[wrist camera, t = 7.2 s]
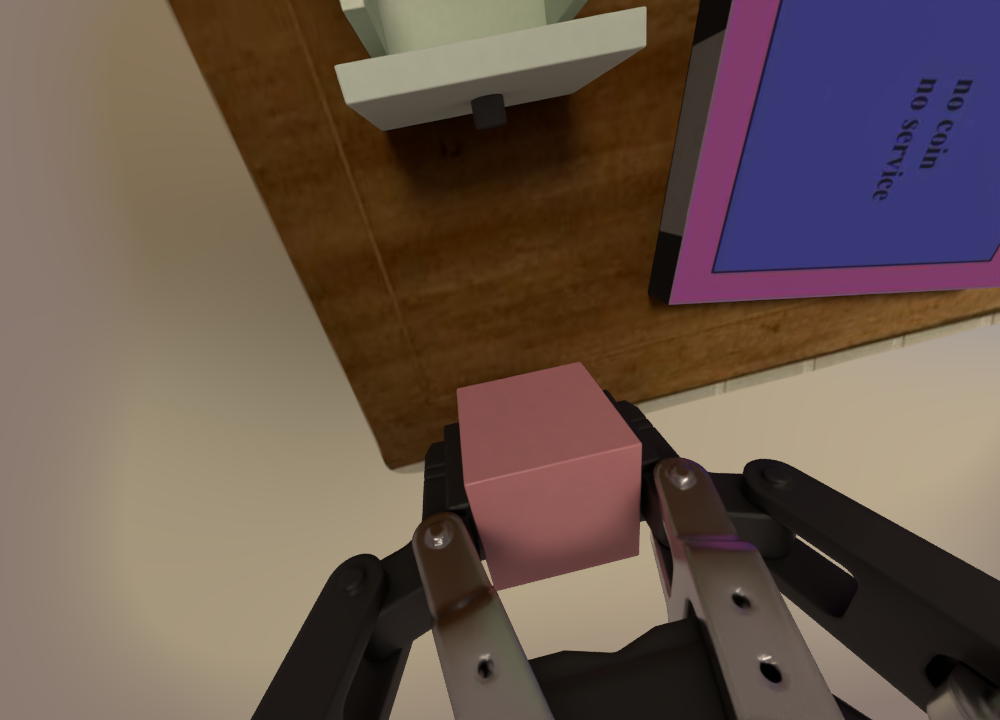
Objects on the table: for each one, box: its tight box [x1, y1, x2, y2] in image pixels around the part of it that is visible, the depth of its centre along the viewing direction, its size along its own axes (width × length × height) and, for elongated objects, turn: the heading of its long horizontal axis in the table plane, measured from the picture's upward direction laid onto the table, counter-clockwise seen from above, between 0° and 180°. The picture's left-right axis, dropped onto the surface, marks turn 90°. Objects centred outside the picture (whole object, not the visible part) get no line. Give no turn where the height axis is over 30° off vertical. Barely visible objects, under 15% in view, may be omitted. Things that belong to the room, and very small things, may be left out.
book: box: [648, 0, 1000, 305], centre depth 25 cm, size 21×3×30 cm
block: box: [457, 362, 642, 591], centre depth 11 cm, size 4×4×4 cm
